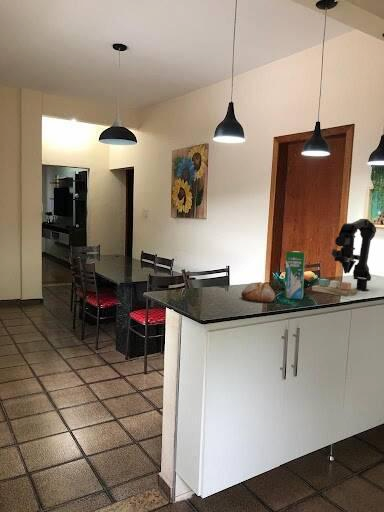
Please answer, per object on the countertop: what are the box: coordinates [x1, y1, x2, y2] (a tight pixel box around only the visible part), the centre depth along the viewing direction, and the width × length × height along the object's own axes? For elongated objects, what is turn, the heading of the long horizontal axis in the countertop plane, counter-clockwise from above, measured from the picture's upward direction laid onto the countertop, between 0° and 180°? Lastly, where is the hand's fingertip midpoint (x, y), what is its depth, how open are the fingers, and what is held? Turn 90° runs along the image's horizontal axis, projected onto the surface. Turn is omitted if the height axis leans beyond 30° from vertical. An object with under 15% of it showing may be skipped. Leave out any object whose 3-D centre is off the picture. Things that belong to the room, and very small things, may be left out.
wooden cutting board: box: [311, 284, 359, 297], centre depth 238 cm, size 12×22×2 cm, turn 41°
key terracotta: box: [340, 281, 352, 290], centre depth 233 cm, size 4×4×4 cm
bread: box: [241, 281, 276, 303], centre depth 213 cm, size 16×20×10 cm
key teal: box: [318, 278, 330, 286], centre depth 243 cm, size 4×4×4 cm
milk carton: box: [283, 250, 306, 300], centre depth 219 cm, size 9×9×25 cm
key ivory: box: [329, 279, 341, 288], centre depth 238 cm, size 4×4×4 cm
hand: (346, 273), depth 232 cm, fingers open, 3 cm apart
